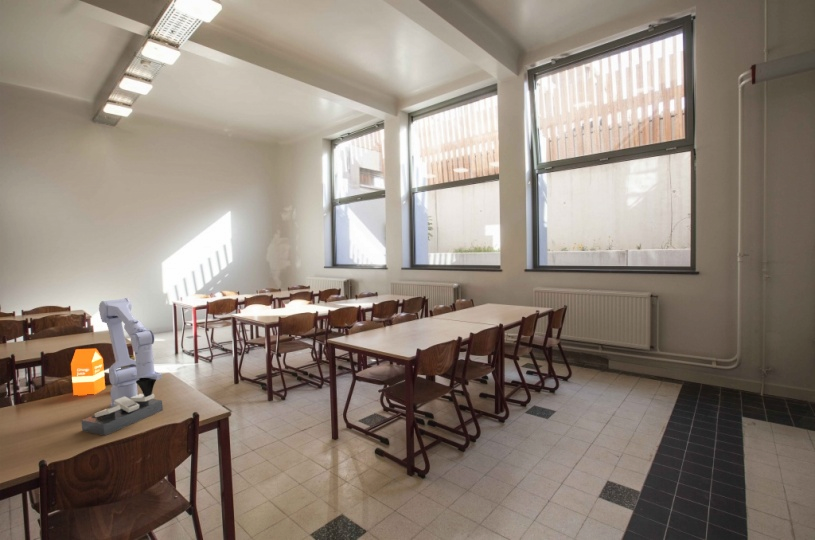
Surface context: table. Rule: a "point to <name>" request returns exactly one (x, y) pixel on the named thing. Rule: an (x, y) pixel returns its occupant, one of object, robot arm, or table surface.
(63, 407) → the table surface
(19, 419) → the table surface
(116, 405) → the rocker
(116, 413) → the grey slab
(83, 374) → the orange juice
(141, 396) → the white rectangular block
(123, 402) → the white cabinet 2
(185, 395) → the table surface
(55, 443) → the table surface
